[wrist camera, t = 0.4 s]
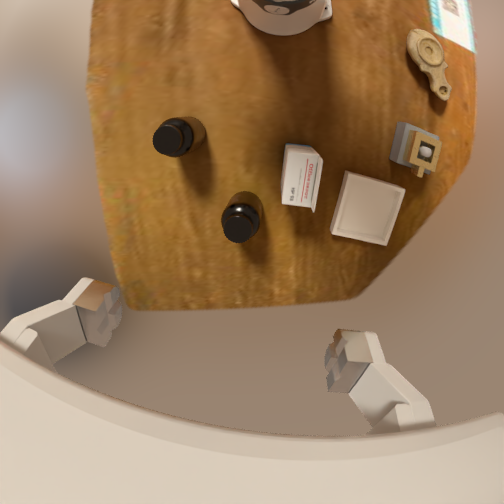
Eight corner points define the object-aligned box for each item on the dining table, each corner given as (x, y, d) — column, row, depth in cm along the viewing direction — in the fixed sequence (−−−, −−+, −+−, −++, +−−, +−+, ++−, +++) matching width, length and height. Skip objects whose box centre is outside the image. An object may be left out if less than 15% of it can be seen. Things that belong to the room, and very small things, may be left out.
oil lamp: (435, 104, 41) (448, 104, 37) (386, 53, 38) (396, 48, 34) (457, 75, 37) (470, 74, 32) (411, 25, 34) (422, 19, 29)
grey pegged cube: (397, 121, 44) (414, 124, 38) (429, 134, 44) (448, 139, 38) (388, 158, 48) (404, 166, 42) (420, 170, 48) (438, 179, 42)
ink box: (285, 142, 49) (288, 152, 36) (311, 145, 49) (324, 157, 36) (279, 185, 53) (281, 210, 40) (305, 188, 53) (314, 215, 40)
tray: (345, 170, 50) (348, 173, 48) (400, 186, 50) (405, 189, 48) (329, 228, 56) (331, 234, 54) (382, 240, 56) (386, 245, 54)
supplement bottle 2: (269, 206, 55) (268, 231, 45) (246, 228, 58) (239, 257, 47) (244, 183, 53) (236, 201, 43) (221, 206, 56) (208, 230, 45)
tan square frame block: (409, 129, 41) (416, 131, 39) (434, 140, 41) (442, 142, 39) (399, 168, 45) (406, 172, 42) (424, 177, 45) (431, 181, 42)
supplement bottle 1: (171, 150, 51) (146, 160, 40) (173, 116, 48) (147, 118, 37) (205, 151, 51) (186, 162, 40) (207, 116, 48) (188, 118, 37)
